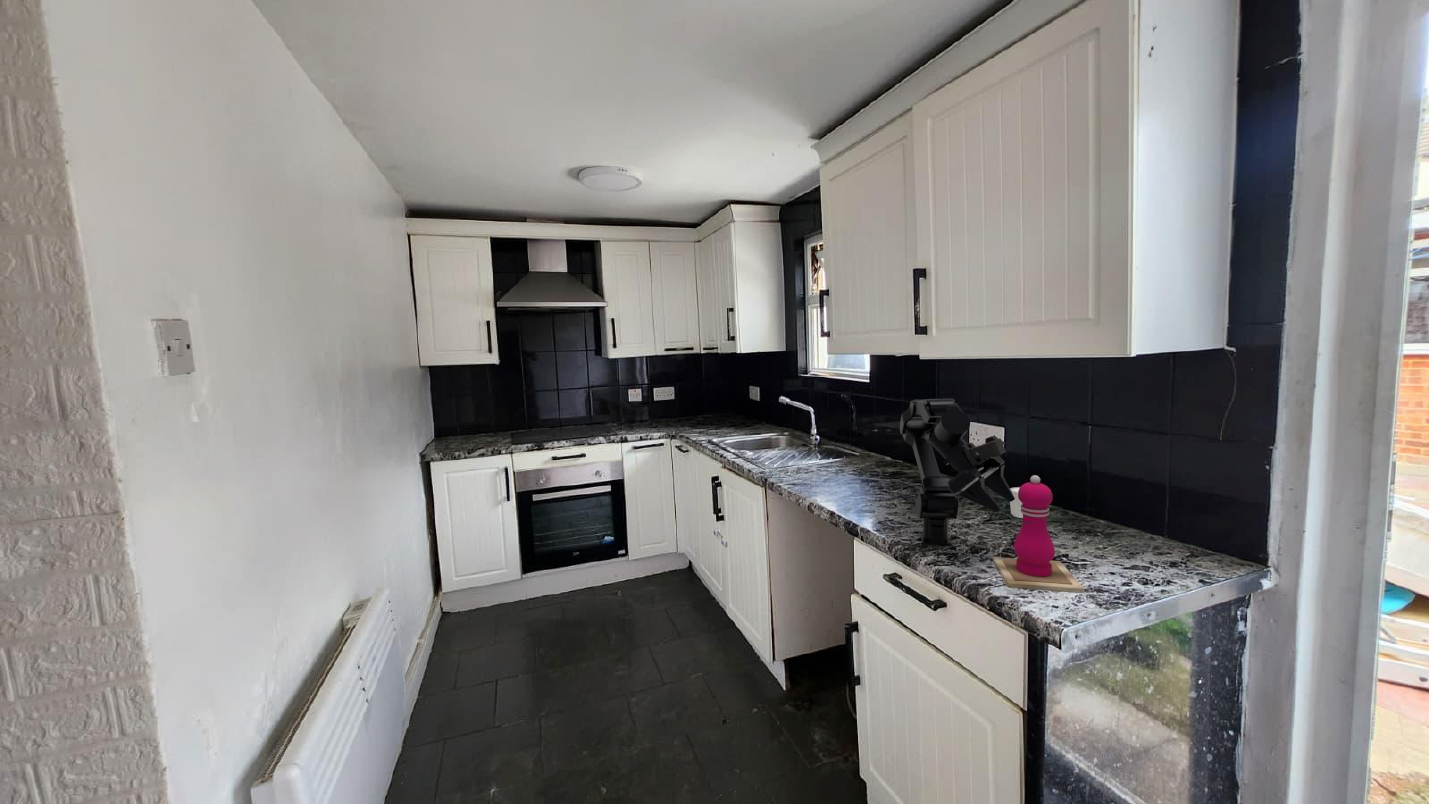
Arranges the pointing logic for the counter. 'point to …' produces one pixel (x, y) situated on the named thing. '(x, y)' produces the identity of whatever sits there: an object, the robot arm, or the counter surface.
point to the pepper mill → (1034, 530)
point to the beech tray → (1055, 581)
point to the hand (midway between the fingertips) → (1006, 505)
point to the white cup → (1016, 503)
